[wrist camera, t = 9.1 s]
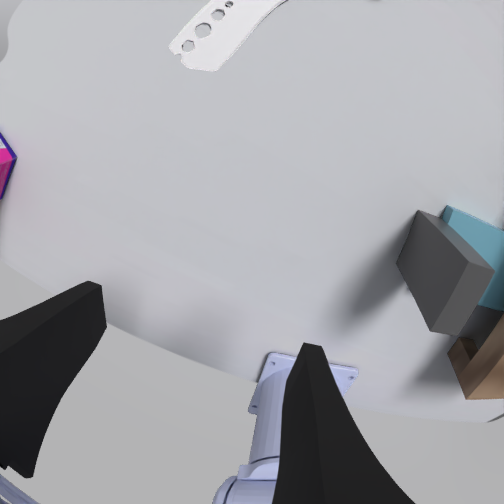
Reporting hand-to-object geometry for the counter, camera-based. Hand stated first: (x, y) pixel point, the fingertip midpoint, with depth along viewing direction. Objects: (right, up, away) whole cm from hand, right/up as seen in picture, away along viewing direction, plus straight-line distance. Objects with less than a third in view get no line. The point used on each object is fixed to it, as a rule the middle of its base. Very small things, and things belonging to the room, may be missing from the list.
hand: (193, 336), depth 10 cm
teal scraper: (+23, +1, +7) cm, 24 cm away
